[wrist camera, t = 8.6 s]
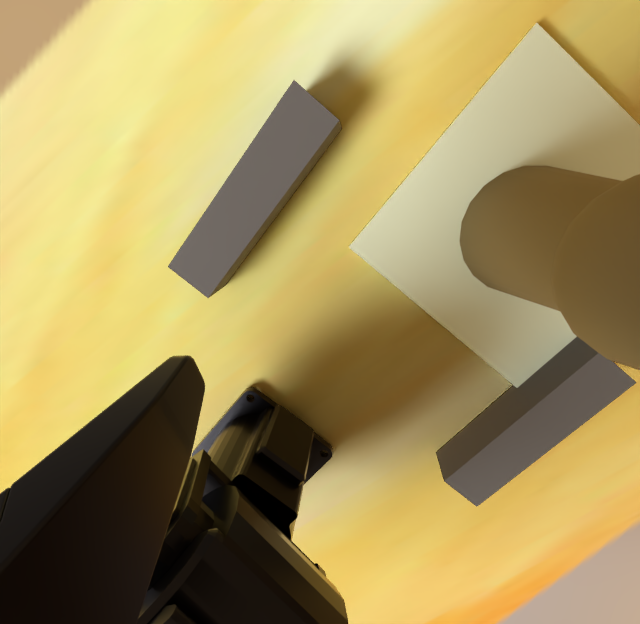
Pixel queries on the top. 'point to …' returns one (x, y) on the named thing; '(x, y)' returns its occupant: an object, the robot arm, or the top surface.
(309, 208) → the top surface
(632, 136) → the pad
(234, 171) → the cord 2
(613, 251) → the cork
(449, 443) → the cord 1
